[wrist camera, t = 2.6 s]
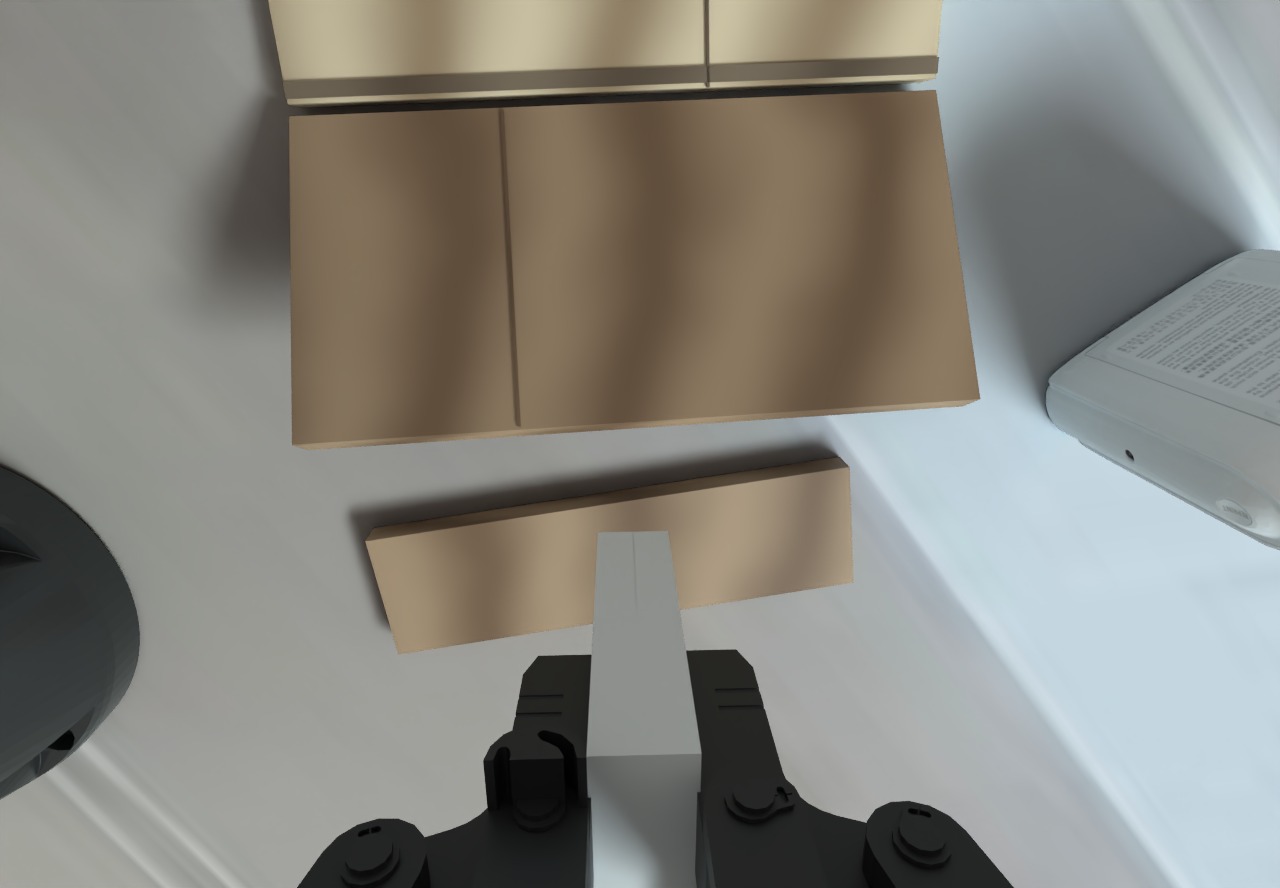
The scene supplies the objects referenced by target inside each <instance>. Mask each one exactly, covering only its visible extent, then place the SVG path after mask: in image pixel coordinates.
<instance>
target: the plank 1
mask: <svg viewBox="0 0 1280 888" xmlns="http://www.w3.org/2000/svg"><path fill="white" fill-rule="evenodd" d="M289 164H290V271H291V378H292V445H294V446H297V447H300V448H303V449H306V450H316V449H331V448H346V447H361V446H376V445H391V444H406V443H421V442H435V441H450V440H465V439H480V438H495V437H510V436H525V435H540V434H555V433H570V432H585V431H600V430H615V429H630V428H645V427H660V426H675V425H690V424H705V423H720V422H735V421H750V420H765V419H780V418H795V417H810V416H825V415H840V414H855V413H870V412H884V411H899V410H914V409H929V408H944V407H959V406H964V405H967V404H969V403H972V402H974V401H977V400H979V399H980V394H979V387H978V380H977V373H976V366H975V359H974V352H973V345H972V338H971V331H970V324H969V317H968V310H967V303H966V296H965V290H964V283H963V276H962V269H961V262H960V255H959V248H958V241H957V234H956V227H955V220H954V213H953V206H952V199H951V192H950V185H949V178H948V171H947V164H946V157H945V150H944V143H943V136H942V129H941V122H940V115H939V108H938V101H937V94H936V90H925V91H900V92H876V93H851V94H826V95H802V96H777V97H752V98H728V99H703V100H678V101H654V102H629V103H605V104H580V105H555V106H531V107H506V108H481V109H457V110H432V111H407V112H383V113H358V114H334V115H309V116H289Z"/></svg>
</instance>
